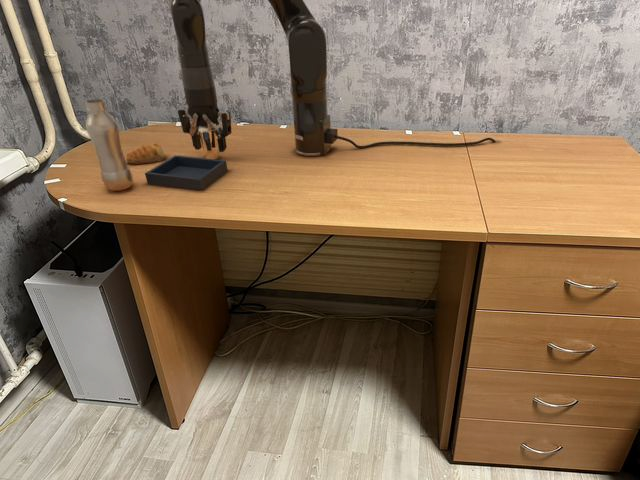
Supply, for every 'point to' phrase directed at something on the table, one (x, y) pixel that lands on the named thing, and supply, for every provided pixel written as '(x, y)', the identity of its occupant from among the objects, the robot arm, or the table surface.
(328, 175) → the table surface
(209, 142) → the milkshake
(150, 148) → the pastry
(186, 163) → the tray
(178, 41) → the robot arm
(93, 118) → the plastic bottle
